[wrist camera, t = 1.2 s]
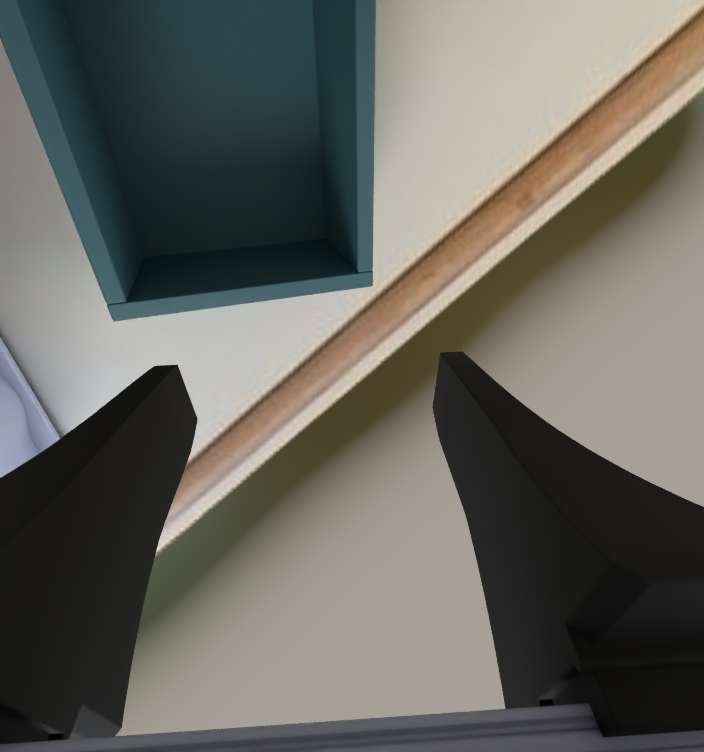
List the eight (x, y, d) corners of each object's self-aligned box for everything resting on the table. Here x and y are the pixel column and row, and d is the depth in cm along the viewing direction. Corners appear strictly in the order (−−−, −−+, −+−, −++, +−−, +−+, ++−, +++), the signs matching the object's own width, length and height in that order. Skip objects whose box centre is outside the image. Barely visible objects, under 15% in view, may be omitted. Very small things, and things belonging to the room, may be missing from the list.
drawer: (335, 246, 19) (373, 286, 15) (136, 268, 17) (113, 322, 13) (321, -88, 13) (379, -187, 9) (6, -118, 11) (-124, -268, 7)
